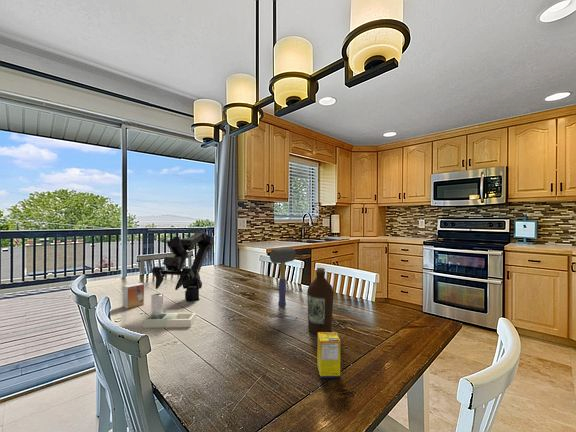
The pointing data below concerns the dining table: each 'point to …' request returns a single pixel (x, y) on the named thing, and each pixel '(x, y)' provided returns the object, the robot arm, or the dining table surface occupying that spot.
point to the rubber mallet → (282, 269)
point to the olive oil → (320, 304)
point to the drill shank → (157, 306)
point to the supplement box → (328, 355)
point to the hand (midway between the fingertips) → (165, 289)
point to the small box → (133, 295)
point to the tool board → (170, 320)
